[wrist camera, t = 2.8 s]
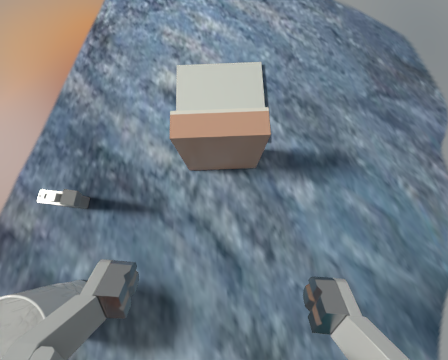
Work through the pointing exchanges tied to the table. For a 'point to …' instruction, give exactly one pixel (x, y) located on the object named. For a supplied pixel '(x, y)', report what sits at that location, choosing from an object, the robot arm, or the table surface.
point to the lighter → (63, 198)
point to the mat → (219, 86)
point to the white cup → (32, 309)
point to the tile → (220, 137)
